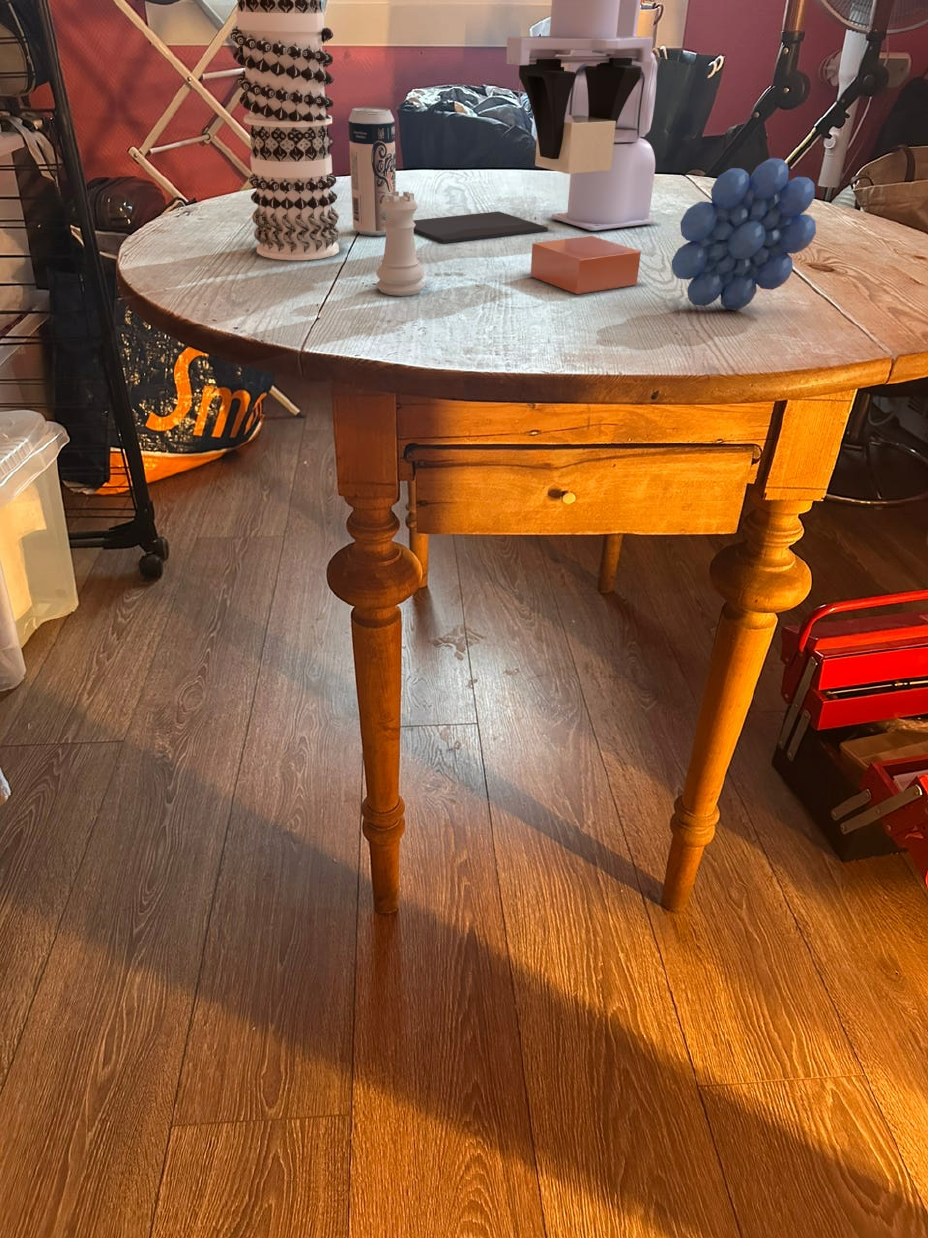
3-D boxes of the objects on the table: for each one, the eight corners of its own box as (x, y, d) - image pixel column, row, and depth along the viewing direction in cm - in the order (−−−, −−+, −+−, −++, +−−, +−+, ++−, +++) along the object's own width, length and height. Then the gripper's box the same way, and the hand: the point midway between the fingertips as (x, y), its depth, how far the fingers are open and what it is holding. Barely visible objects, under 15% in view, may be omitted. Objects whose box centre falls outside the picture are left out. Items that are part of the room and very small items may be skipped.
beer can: (390, 238, 100) (387, 112, 93) (347, 235, 101) (342, 110, 94) (401, 228, 104) (399, 108, 97) (360, 226, 105) (355, 105, 98)
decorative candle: (286, 236, 100) (263, -49, 85) (360, 246, 96) (348, -48, 82) (233, 253, 93) (199, -54, 79) (310, 265, 90) (288, -53, 75)
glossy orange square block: (588, 267, 91) (591, 235, 90) (637, 284, 86) (641, 251, 85) (530, 275, 88) (532, 242, 86) (576, 294, 83) (579, 259, 81)
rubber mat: (498, 214, 112) (498, 211, 112) (547, 230, 105) (548, 227, 105) (397, 225, 105) (397, 221, 105) (443, 243, 99) (443, 239, 98)
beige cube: (577, 162, 88) (581, 114, 85) (611, 170, 84) (616, 120, 82) (534, 165, 85) (537, 116, 83) (567, 173, 82) (571, 123, 80)
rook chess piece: (375, 283, 85) (372, 188, 80) (424, 283, 85) (423, 189, 81) (375, 296, 81) (372, 198, 77) (426, 296, 81) (426, 198, 77)
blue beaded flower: (782, 297, 84) (813, 151, 77) (806, 319, 78) (842, 163, 72) (655, 294, 84) (675, 147, 77) (671, 316, 78) (694, 160, 71)
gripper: (546, -28, 71) (535, 167, 78) (685, -23, 77) (662, 156, 85) (495, -29, 75) (488, 155, 83) (629, -24, 82) (612, 146, 90)
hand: (573, 155), depth 84 cm, fingers closed on beige cube, 5 cm apart
